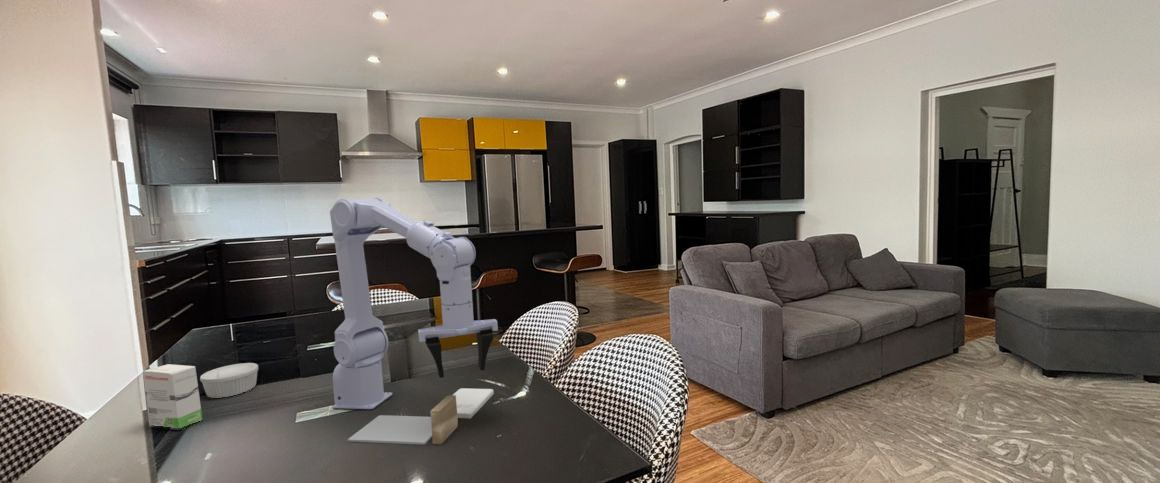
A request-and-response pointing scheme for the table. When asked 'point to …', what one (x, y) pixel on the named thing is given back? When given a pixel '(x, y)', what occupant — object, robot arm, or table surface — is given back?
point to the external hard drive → (471, 401)
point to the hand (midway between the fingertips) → (461, 372)
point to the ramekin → (230, 380)
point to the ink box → (172, 396)
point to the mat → (395, 430)
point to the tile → (444, 419)
